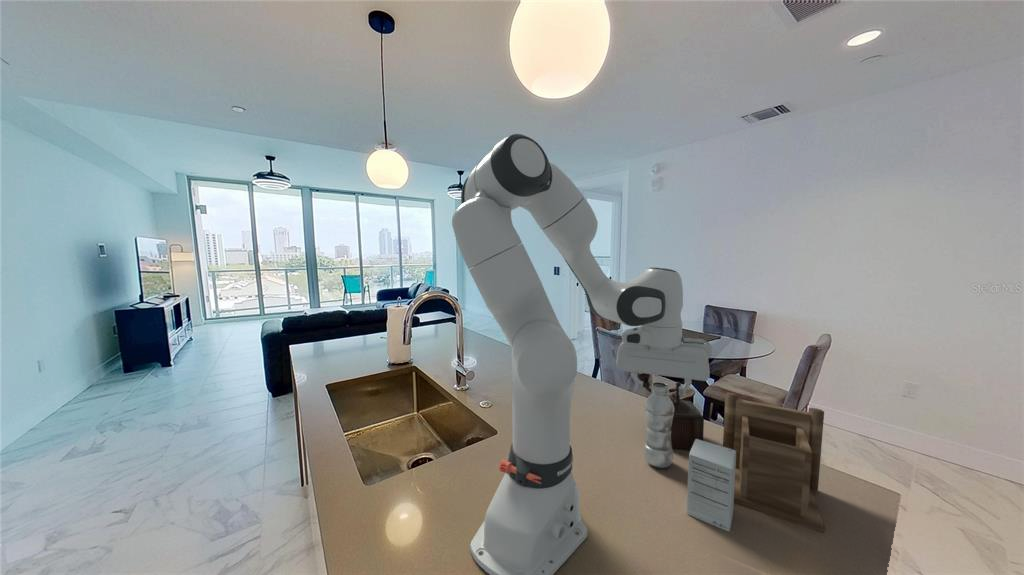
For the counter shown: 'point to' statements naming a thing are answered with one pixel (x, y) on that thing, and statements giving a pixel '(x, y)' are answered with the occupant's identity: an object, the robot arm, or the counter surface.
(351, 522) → the counter surface
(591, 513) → the counter surface
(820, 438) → the caddy
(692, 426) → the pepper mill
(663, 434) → the plastic bottle
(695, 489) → the supplement box
